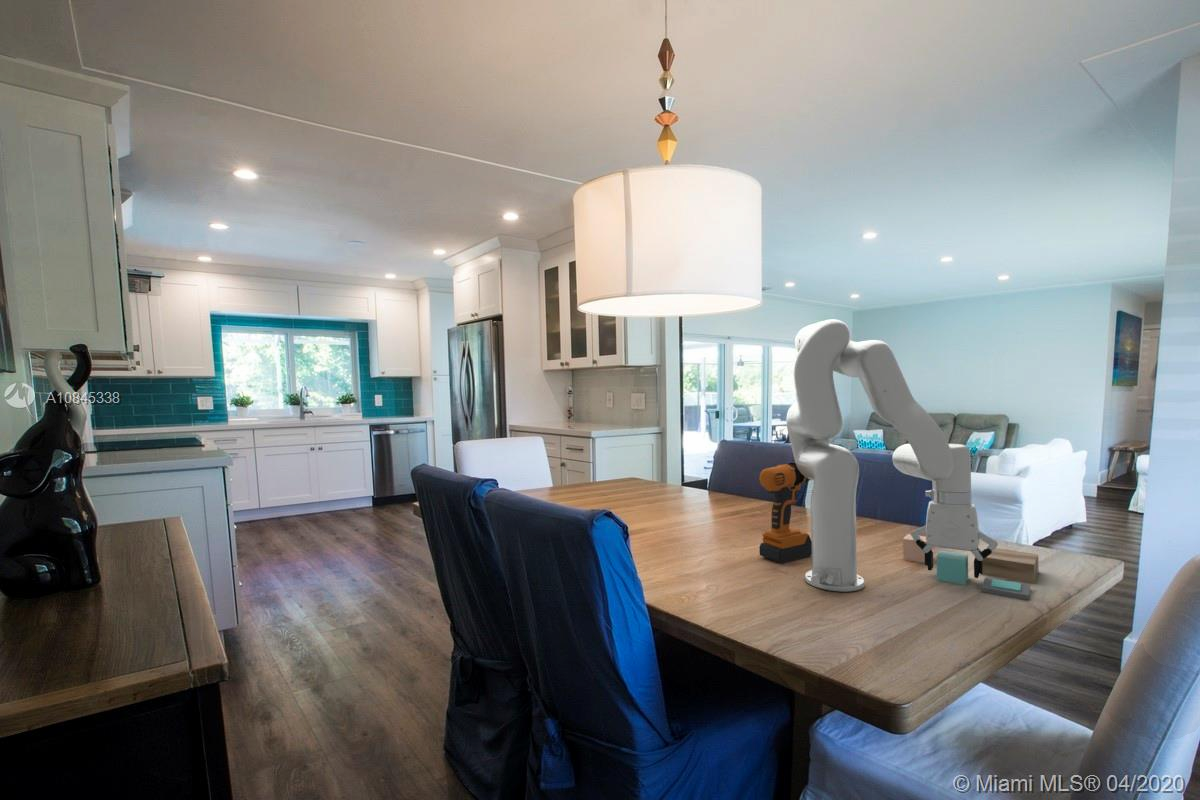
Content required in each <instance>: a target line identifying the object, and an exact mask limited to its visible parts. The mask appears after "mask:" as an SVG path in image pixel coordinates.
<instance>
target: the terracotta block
mask: <svg viewBox="0 0 1200 800" xmlns="http://www.w3.org/2000/svg"><path fill="white" fill-rule="evenodd" d="M919 536H920V538H921V539H922V540H923V541H924V542H925V543H926V544H927V542H926V535H925V536H923V535H919ZM902 546H903V547H902V548H903V549H902V551H903V553H902V554H903V555H902V557H903V561H909V562H914V563H915V562H916V563H921V564H925V553H924V552H923V550H922V549H921V548H920V547H919V546H918V545H917V544H916V542H915V540H914V539H913V538H912V536H911V534H910V533H909V534H908V533H906V535H905V536H904V537H903V539H902Z"/></svg>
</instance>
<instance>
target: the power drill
mask: <svg viewBox="0 0 1200 800" xmlns="http://www.w3.org/2000/svg"><path fill="white" fill-rule="evenodd" d="M758 479H759V483H760V485H761V486H762V487H763V488H764V489H765V491H766V492H767V493H768V494H773V496H774V497H773V498H774V499H773V504H772V506H771V507H772V508H771V516H770V517H771V522H770V523H771V529H770V530H766V531H764V532H761V533H762V534H761V535H762V537H763V538H762V542H761V543H759V544H760V545H759V550H758V551H759V556H761V557H764V558H765V559H769V560H771V561H775V562H777V563H780V564H785V563H789V562H790V563H791V562H794V561H798V560H801V559H802V560H803V559H805V558H809V557H812V544H811V535H809V533H806V532H803V531H801V530H799V529H795V528H793V527H790V523H791V515H792V504H793V503H796V501H797V500H798V498H797V494H798V492H799V491H800V490H801V485H802V484H806V483H808V482H809V481H812V480H811V479H808V478H807V477H805V476H804V475H803V474H801V472H800V471H799V470H798V468H797V465H796V462H795V461H794V462H789V463H784V464H778V465H776V466H772V467H767V468H764V469H762V471H760V473H759V476H758Z"/></svg>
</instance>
